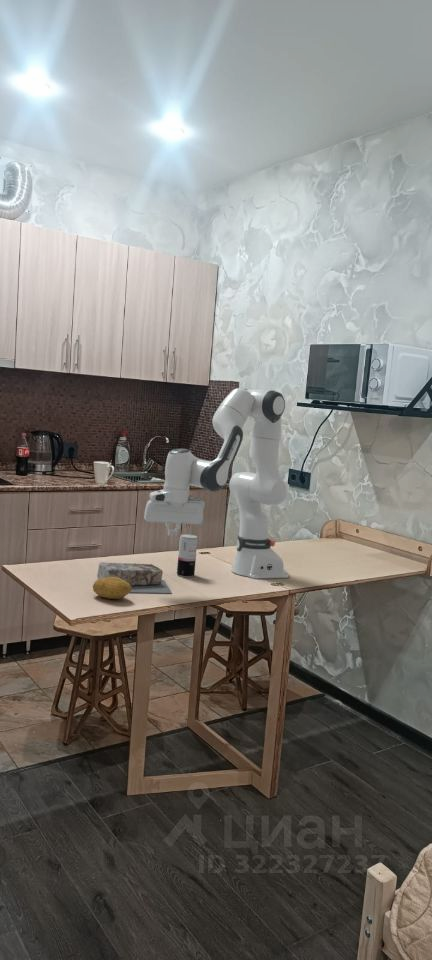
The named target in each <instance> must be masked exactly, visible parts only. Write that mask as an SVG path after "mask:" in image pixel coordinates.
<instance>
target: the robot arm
mask: <svg viewBox="0 0 432 960" xmlns="http://www.w3.org/2000/svg"><path fill="white" fill-rule="evenodd" d="M285 401H286V400H285V398H284V396H283V394H282V393H280V392H279V391H276V390H269V389H265V388H264V389H263V388H256V389H255V388H252V389H251V388H250V389H249V388H248V389H247V388H242V387H237V388H233V390H231V391H230V392H229V393H228V394H227V396H226V397H225V398H224V399H223V401H221V403H220V405H219V406H218V407H217V410H216V411H215V412H214V414H213V417H212V421H211V422H212V427H213V429H214V431H215V432H216V434H218V436H220V437H221V438H222V439H223V440H224V441H223V444H222V446H221V448H220V451H219V452H218V455H217V457H216V458H215V459H214V460H206V459H202V458H199V457H197V456H195V455H194V454H193V453H192V452H191V450H190V449H188V448H173V449H172V450H169V452H168V454H167V457H166V462H165V466H164V467H165V469H164V475H165V476H164V478H165V479H164V483H163V489H159V490H155V491H151V492H150V493H149V500H148V501H147V502H146V504H145V509H144V514H143V515H144V516H143V517H144V520H145V521H146V522H148V523H164V524H165V525H164V526H165V527H166V529H167V536H169V537H177V536H178V531H179V530H180V528H181V527H182V524H185V525H201V524H203V522H204V510H205V507H206V506H205V500H204V499H203V498H202V497H198V496H197V497H195V496H189V495H190V486H192V487H197V488H200V489H204V490H207V491H210V492H213V493H214V492H219V491H220V490H222V489H223V488H224V487H225V486H226V485H227V482H228V480H229V477H230V471H231V470H232V467H233V464H234V461H235V460H236V457H237V455H238V452H239V450H240V447H241V444H242V442H243V438H244V431H243V427H244V425H245V423H246V422H247V420H248V418H250V419H254V422H255V423H254V425H253V430H252V432H251V433H252V434H251V440H250V444H249V445H250V446H249V451H248V456H249V457H248V458H249V459H250V461H252V462H253V464H254V466H255V472H249V471H242V472H241V471H240V472H236V473H234V474H233V475H232V477H230V480H229V483H228V486H229V487H228V488H229V491H230V493H231V494H232V496H233V497H234V499H235V501H236V503H237V507H238V511H239V531H238V535H237V539H236V554H235V557H234V562H233V566H232V567H231V572H232V573H234V574H237V575H239V576H245V577H248V578H252V579H258V580H259V579H282V578H283V579H284V578H285V579H287V578H289V577H290V573H289V572H288V570H286V569H285V567H284V561H283V558H282V557H281V556H280V555H279V554H278V553H277V552H275V550H273V549H272V548H271V547H275V546H276V542H275V541H274V540H271V539H269V538H268V531H269V520H270V519H269V517H268V515H267V514H266V513H265V511H264V510H263V508H262V505H268V506H276V505H281V504H282V503H283V502H285V500H286V498H287V496H288V486H287V484H286V482H285V481H284V480H283V478H282V476H281V473H280V470H279V464H278V463H279V462H278V458H279V450H280V445H281V444H280V442H281V437H282V415H283V414H284V411H285V408H286V402H285ZM261 504H262V505H261ZM171 524H175V526H176V527H175V529H171V528H170V527H171Z"/></svg>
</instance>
